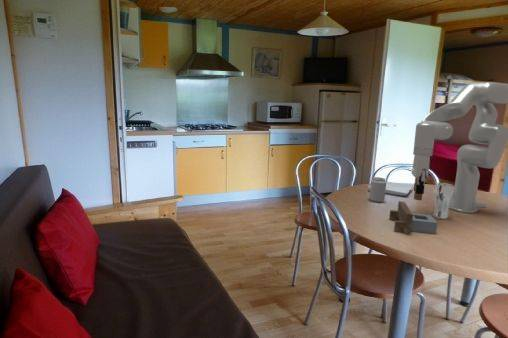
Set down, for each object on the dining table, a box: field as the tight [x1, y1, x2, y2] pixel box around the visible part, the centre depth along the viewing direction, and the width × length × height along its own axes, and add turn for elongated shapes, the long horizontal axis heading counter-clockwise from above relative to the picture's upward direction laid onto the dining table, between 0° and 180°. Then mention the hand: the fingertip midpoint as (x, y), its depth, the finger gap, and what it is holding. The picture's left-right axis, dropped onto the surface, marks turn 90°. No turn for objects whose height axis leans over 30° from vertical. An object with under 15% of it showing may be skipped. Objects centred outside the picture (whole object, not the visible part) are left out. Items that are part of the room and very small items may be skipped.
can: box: [368, 176, 387, 203], centre depth 177 cm, size 8×8×12 cm
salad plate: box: [367, 181, 414, 197], centre depth 199 cm, size 21×21×3 cm
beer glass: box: [432, 182, 455, 220], centre depth 154 cm, size 7×7×15 cm
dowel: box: [413, 177, 423, 201], centre depth 152 cm, size 3×3×12 cm
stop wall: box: [388, 200, 413, 235], centre depth 142 cm, size 6×18×8 cm, turn 166°
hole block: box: [411, 212, 438, 235], centre depth 140 cm, size 10×10×4 cm
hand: (418, 192), depth 153 cm, fingers closed on dowel, 3 cm apart
